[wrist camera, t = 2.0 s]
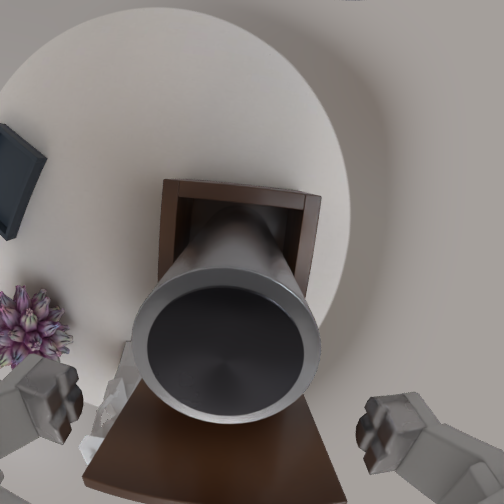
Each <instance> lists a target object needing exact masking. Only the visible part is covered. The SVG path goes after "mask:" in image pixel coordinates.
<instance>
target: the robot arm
mask: <svg viewBox="0 0 504 504" xmlns="http://www.w3.org/2000/svg"><path fill="white" fill-rule="evenodd" d="M78 379H79V378H78V374H77V370H76V369H75V368H74V367H72V366H69V365H66V364H63V363H60V362H57V361H54V360H51V359H48V358H44V357H42V356H39V355H36V354H29V355H28V356H27V357H26V358H25V359H24V360H23V361H22V362H20V363H19V364H18V365H17V366H16V367H15V368H14V369H13V370H12V371H11V372H10V373H9V374H8V375H7V376H6V377H5V378H4V379H3V380H2V381H1V380H0V459H1V458H3V457H5V456H7V455H8V454H10V453H12V452H14V451H16V450H18V449H19V448H21V447H23V446H25V445H26V444H28V443H30V442H32V441H33V440H35V439H37V438H39V436H40V437H43V438H45V439H48V440H50V441H53V442H56V443H58V444H61V445H63V444H64V442H65V441H66V439H67V437H68V436H69V434H70V432H71V430H72V429H71V425H70V423H72V422H74V421H77V420H78V419H79V417H80V415H81V413H82V408H83V395H82V391H81V389H80V388H79V387H78V386H77V385H76V382H77V381H78ZM365 409H366V412H367V413H366V414H364V415H363V416H362V417H361V418H360V419H359V421H358V424H357V426H356V441H357V444H358V447H359V448H360V449H362V450H363V451H365V452H366V453H365V455H364V458H363V459H364V462H365V464H366V467H367V469H368V472H369V474H370V475H372V474H378V473H384V472H390V471H395V470H396V473H397V474H399V475H400V476H401V477H402V478H404V479H405V480H406V481H407V482H409V483H410V484H411V485H413V486H414V487H415V488H416V489H418V490H419V491H420V492H421V493H423V494H424V495H425V496H427V497H428V498H429V499H431V500H432V501H433V502H435V503H436V504H504V452H503V451H502V450H501V449H498V448H496V447H494V446H492V445H489V444H487V443H485V442H483V441H481V440H478V439H476V438H474V437H472V436H470V435H468V434H466V433H464V432H462V431H459V430H457V429H455V428H453V427H451V426H449V425H447V424H441V423H440V422H439V420H438V419H437V418H436V416H435V415H434V414H433V412H432V411H431V409H430V408H429V407H428V406H427V404H426V403H425V402H424V400H423V399H422V397H421V396H420V395H419V394H418V393H416V392H410V393H402V394H397V395H387V396H377V397H370V399H369V400H368V401H367V403H366V405H365ZM3 479H4V475H3V472H2V471H1V470H0V484H1V482H2V480H3ZM0 504H31V503H29V502H27V501H26V500H24V499H22V498H20V497H19V496H16V495H15V494H13V493H12V492H10V491H8V490H7V489H5V488H3V487H2V486H0Z"/></svg>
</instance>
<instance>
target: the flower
mask: <svg viewBox="0 0 504 504" xmlns="http://www.w3.org/2000/svg"><path fill="white" fill-rule="evenodd" d="M46 291H47V290H44V289H42V288H41V290H40V292H39V293H38V294H37V293H36V294H34V297H33V298H32V299H30V297H29V296H28V294H27V292H26V287H25V285H24V286H23V287H22V286H20V285H19V286H18V285H17V286H16V292H15V295H14V299H13V300H12V299H11V298H9V297H7V296H6V295H5V294H4V293H3V291H1V292H0V299H1V300H0V369H1V368H2V367H3V366H9V365H11V368H12V370H13V369H14V368H15V367H16V366H17V365H18V364H19V363H20V362H22V361H23V360H24V359H25V358H26V357H27V356H28V355H29V354H36V355H39V356H42V357H44V358H48V359H51V360H54V361H57V362H60V360H59V357H60V356H61V355H62V354H63V353H66V354H69V351H70V350H69V349H68V348H67V347H65V346H64V345H66V344H68V343H72V342H73V338H72V337H73V336H71V335H67V334H66V333H64V331H65V330H69V327H68V325H62V324H61V323H59V320H60V318H61V316H62V315H63V314H64V313H65V311H64V308H63V309H61V310H60V308H59V307H58V306H55V307H53V308H48V305H49V302H50V298H49V297H47V296H46ZM45 296H46V297H45Z"/></svg>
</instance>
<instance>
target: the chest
mask: <svg viewBox="0 0 504 504" xmlns="http://www.w3.org/2000/svg"><path fill="white" fill-rule="evenodd" d="M234 205H239V206H245V207H249V208H251V209H253V210H255V211H256V212H258V213H259V214H260V215H261V216H262V217H263V218H264V220H265V221H266V223H267V225H268V227H269V229H270V230H271V232H272V234H273V236H274V238H275V240H276V242H277V244H278V246H279V248H280V250H281V252H282V254H283V256H284V258H285V260H286V262H287V264H288V266H289V268H290V270H291V272H292V274H293V276H294V278H295V280H296V282H297V284H298V286H299V288H300V290H301V292H302V294H303V296H304V298H305V297H306V291H307V286H308V280H309V275H310V269H311V263H312V257H313V251H314V245H315V238H316V232H317V225H318V219H319V212H320V205H321V196H318V195H314V194H310V193H305V192H301V191H295V190H287V189H279V188H272V187H263V186H255V185H246V184H237V183H227V182H217V181H206V180H194V179H164V180H163V192H162V204H161V218H160V235H159V259H158V282H159V281H160V280H161V279H162V277H163V276H164V275H165V273H166V272H167V271H168V270H169V268H170V267H171V266H172V265H173V263H174V262H175V261H176V260H177V258H178V257H179V256H180V255H181V253H182V252H183V251H184V250H185V248H186V247H187V246H188V245H189V243H190V242H191V241H192V240H193V238H194V237H195V236H196V235H197V234H198V232H199V231H200V230H201V229H202V228H203V226H204V225H205V224H206V223H207V221H208V220H209V219H210V218H211V217H212V216H213V215H214V214H215V213H216V212H217V211H219V210H221V209H223V208H225V207H228V206H234Z"/></svg>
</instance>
